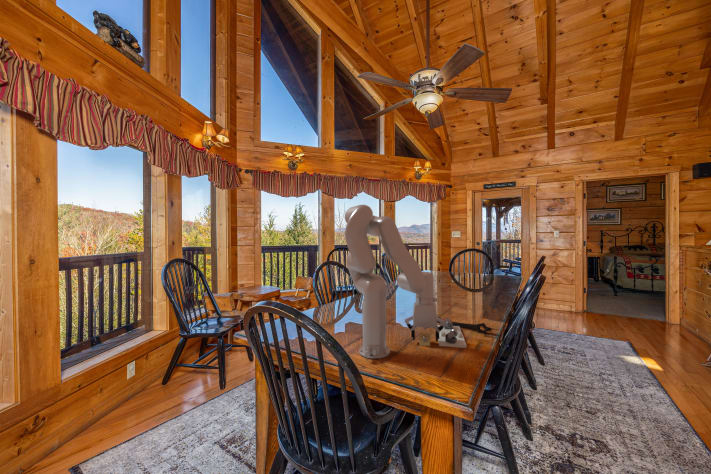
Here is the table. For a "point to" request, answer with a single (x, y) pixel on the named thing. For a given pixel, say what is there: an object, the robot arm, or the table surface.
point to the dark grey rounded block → (451, 336)
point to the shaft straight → (448, 324)
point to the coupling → (424, 337)
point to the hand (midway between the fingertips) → (425, 339)
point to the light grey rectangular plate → (459, 337)
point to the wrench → (471, 326)
